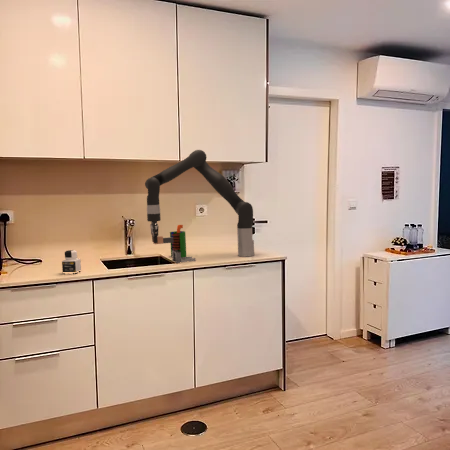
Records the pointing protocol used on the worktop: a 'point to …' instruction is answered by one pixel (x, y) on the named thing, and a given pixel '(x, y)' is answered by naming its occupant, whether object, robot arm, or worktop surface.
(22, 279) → the worktop surface
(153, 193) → the robot arm
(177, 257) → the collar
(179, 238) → the motor
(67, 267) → the medicine bottle
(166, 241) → the plug
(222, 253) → the worktop surface
